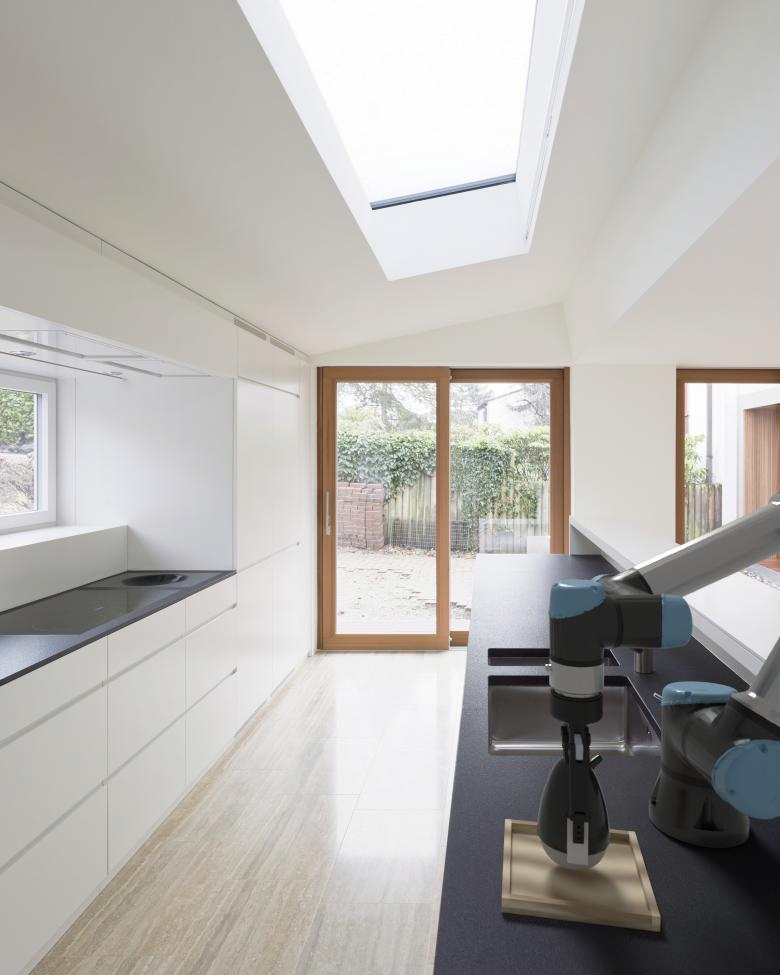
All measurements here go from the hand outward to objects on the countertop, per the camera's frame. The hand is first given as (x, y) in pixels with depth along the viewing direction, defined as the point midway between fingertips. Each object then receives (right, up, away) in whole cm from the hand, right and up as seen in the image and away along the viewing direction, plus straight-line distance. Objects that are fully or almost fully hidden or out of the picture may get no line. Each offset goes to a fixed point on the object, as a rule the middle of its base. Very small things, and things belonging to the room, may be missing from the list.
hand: (574, 840), depth 98 cm
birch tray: (0, -5, 0) cm, 5 cm away
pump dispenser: (0, -3, 0) cm, 3 cm away
